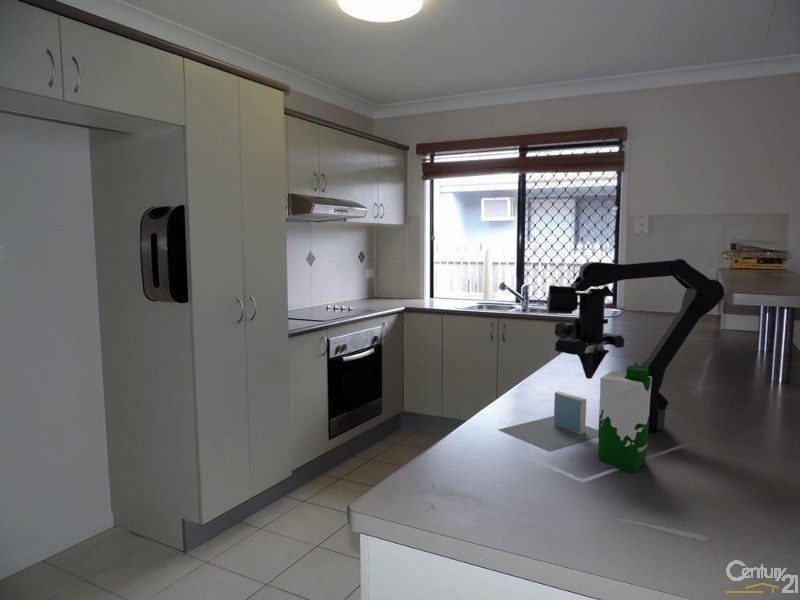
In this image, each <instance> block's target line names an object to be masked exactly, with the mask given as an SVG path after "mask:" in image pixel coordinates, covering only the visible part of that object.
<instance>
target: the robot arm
mask: <svg viewBox="0 0 800 600" xmlns="http://www.w3.org/2000/svg"><path fill="white" fill-rule="evenodd" d="M660 277H661V278H662V277H673V279H674V280H675V281H677V283H678V284H679V285H681V286H682V287H683V288H684V289H686V290H685V292H684V294H683V298H682V302H681V307H680V310H679V311H678V312H677V315H676V316H675V317H674V318H673V320H672V322H671V323H670V325H669V326H668V328H667V329H666V331H665V333H664V334H663V335H662V336H661V338H660V339H659V341H658V343H657V344H656V346H655V347H654V349H653V350H652V352H651V353H650V355H649V356H648V358H647V359H646V360H645V361H643V362H642V363H640V362H638V361H634V363H633V365H632V366H640V367H645V368H648V369H649V372H648V376H651V377H652V383H651V394H650V410H649V428H648V434H657V433H660V432H662V431H666V430H668V429H669V428H668V427H666V426H665V425H666V424H665V422H666V421H665V420H666V409H667V406H669V401H668V400H667V399H666V397H664V396H663V395H662V393H660V392H659V391H660V390H661V387H662V385H663V382H664V378H665V373H666V370H667V368H668V366H669V365H670V363H671V362H672V361H673V359H674V357H675V356H676V355H677V353H678V352H679V350H681V349H680V348H682V346H683V344H684V343H685V341H686V340H687V338H688V337H689V335H690V334H691V333H692V331H693V330H694V328H695V326H696V325H697V323H698V322H699V321H700V320H701V318H703V317H704V316H705V315H707V314H709V313H710V312H711V311H713V310H714V308H715V307H716V306H717V305H719V303H721V301H722V300H723V299H724V297H725V294H726V293H725V288H724V286H723V284H722V283H721V282H720V281H718V280H716V279H712V278H708V276H706V275H705V274H704V273H702V272H700V271H699V270H697V269H695V268H694V267H693V266H691V264H689V263H688V262H687V261H686V260H684V259H683V258H671V259H663V260H662V259H661V260H651V261H641V262H632V263H631V262H627V263H612V262H611V263H610V262H603V261H601V262H600V261H588V262H585V263H583V264H582V265H581V267H580V268H579V273H578V276H577V277H576V279H574V281H573V282H572V284H570V285H569V286H566V285H565V286H562V285H553V284H550V285H549V286H548V295H547V297H546V310H547V311H546V312H547V314H557V315H558V314H559V315H560V314H561V315H564V314H565V315H572V314H573V313H574V312H576V311H577V309H578V305H579V309H578V317H575V318H574V319H573V323H572V324H566V322H558V323H555V325H554V334H555V337H559V339H557V340H556V341H555V342H554V343H555V344H554V351H555V352H560V353H563V354H567V355H575V356H578V358H579V361H580V363H581V366H582V370H583V373H584V376H585V378H586V379H588V380H591V379H592V378H594V377H593V376H594V375H595V373H596V372H597V370H598V369H599V366H600V365H601V363H602V362H603V360H604V359H605V357H606V356H607V354H609V353H610V350H608V349H605V346H607V345H610V346H614V348H616V349H620V348H624V347H625V339H624V337H623V336H622V335H621V334H616V333H611V332H610V333H609V332H604V331H605V329H604V328H605V327H604V326H605V325H607V324H608V323H609V319H607V318H605V308H606V307H605V306H606V304H605V303H606V302H605V301H606V297H615V293H614V292H613V291H612V290H611V288H609V286H608V285H610V284H614V283H618V282H619V281H620V282H621V281H624V280H635V279H636V280H638V279H650V278H660ZM601 286H602V288H599V287H601ZM586 291H587V292H586ZM578 300H579V301H578ZM578 303H579V304H578Z"/></svg>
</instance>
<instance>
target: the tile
mask: <svg viewBox="0 0 800 600" xmlns="http://www.w3.org/2000/svg"><path fill="white" fill-rule="evenodd" d="M553 407H554V408H553V416H554V425H557V426H560V427H562V428H565V429H568V430H571V431H573V432H576V433H579V434H583V433H585V426H586V420H587V417H586V416H587V399H586V398H583V397H580V396H578V395H577V396H576V395H573V394H570V393H566V392H563V391H561V390H559V391H555V392H554V405H553Z"/></svg>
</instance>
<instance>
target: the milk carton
mask: <svg viewBox="0 0 800 600" xmlns="http://www.w3.org/2000/svg"><path fill="white" fill-rule="evenodd" d="M648 372H649V369H648V368H645V367H640V366H633V365H629V366H627V367H626V371H625V372H622V371H617V370H616V371H614V370H612V371H611V372H608V373H606V374H605V375H602V376H601V377H599V379H600V381H599V382H600V383H599V385H600V386H599V387H600V388H599V392H600V393H599V412H598V416H599V417H598V430H599V432H598V438H597V440H598V441H597V444H598V446H597V447H598V448H597V449H598V454H597V455H598V462H599V463H600V462H601V463H604V464H609V465H612V466H615V469H618V468H619V469H618V470H622V471H626V470H627V471H626V472H630V471H631V472H630V473H634V472H635V473H636V472H637V471H638V470H639V469H640V468H641V467H642V466H643V465H644V464H645V462H646V458H647V451H648V442H649V432H648V428H649V410H650V394H651V383H652V377H651V376H648ZM643 463H644V464H643Z"/></svg>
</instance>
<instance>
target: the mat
mask: <svg viewBox="0 0 800 600" xmlns="http://www.w3.org/2000/svg"><path fill="white" fill-rule="evenodd" d="M497 430H498V431H499V432H502V433H504V434H506V435H509V436H512V437H514V438H516V439H519V440H521V441H523V442H526V443H527V444H531V445H532V446H536V447H537V448H539V449H542V450H544V451H546V452H548V453H549V452H550V453H551V452H553V451H556V450H560V449H563V448H567V447H571V446H573V445H578V444H580V443H584V442H588V441H591V440H595V439H598V432H599V429H596V428H594V427H590V426H588V425H585V433H583V434H579V433H576V432H573V431H571V430H568V429H565V428H562V427H560V426H557V425H554V415H552V416H547V417H544V418H540V419H536V420H532V421H527V422H523V423H519V424H515V425H510V426H507V427H503V428H499V429H497Z"/></svg>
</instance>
